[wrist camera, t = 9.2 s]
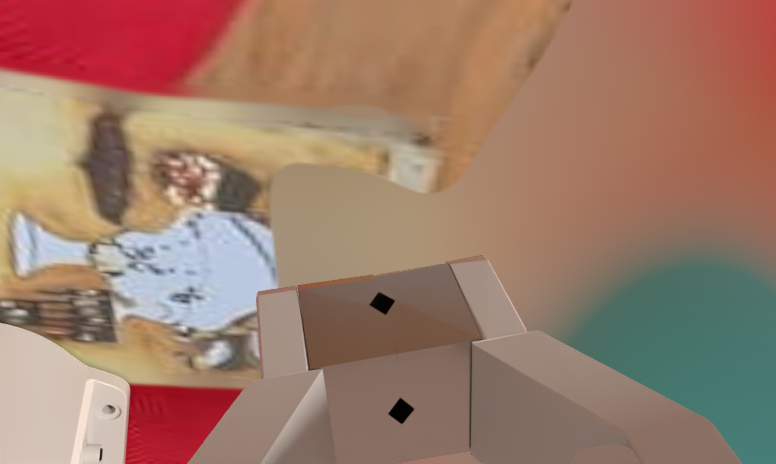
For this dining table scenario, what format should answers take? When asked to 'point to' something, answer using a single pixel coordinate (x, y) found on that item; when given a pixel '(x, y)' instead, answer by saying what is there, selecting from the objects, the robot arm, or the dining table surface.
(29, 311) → the dining table surface
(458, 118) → the dining table surface
